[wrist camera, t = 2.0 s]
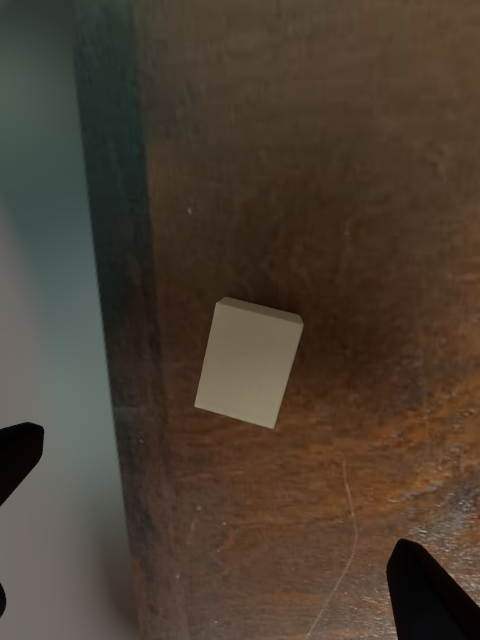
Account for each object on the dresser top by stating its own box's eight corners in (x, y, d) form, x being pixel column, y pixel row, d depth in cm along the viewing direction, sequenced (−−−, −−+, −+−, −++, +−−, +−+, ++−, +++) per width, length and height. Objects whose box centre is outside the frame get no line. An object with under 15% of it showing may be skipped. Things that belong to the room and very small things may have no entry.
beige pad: (205, 387, 18) (193, 407, 16) (225, 296, 17) (216, 302, 14) (274, 406, 18) (273, 430, 15) (300, 315, 16) (304, 324, 14)
